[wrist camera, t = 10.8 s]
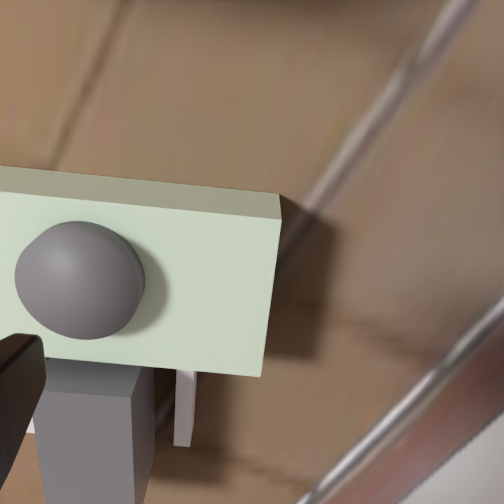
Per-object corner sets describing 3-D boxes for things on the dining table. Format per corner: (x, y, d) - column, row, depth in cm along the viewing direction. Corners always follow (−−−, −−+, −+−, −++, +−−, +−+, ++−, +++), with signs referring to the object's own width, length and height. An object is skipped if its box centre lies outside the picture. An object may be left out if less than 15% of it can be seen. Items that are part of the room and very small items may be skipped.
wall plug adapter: (279, 194, 19) (282, 230, 15) (248, 429, 25) (246, 497, 21) (-66, 158, 19) (-144, 187, 15) (-19, 404, 24) (-69, 470, 21)
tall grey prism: (154, 331, 22) (130, 397, 18) (155, 452, 26) (135, 530, 22) (71, 325, 22) (28, 389, 18) (83, 446, 26) (49, 524, 21)
